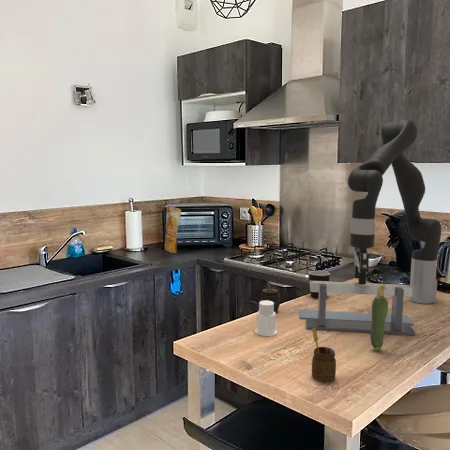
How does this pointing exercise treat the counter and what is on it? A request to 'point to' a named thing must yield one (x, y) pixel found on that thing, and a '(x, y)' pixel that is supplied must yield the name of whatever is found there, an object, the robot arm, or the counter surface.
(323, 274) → the coffee mug
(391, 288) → the steel rail
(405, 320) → the blue-gray flat board
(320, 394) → the counter surface
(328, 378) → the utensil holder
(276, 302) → the mate gourd
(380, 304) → the vegetable
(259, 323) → the downlight
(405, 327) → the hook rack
